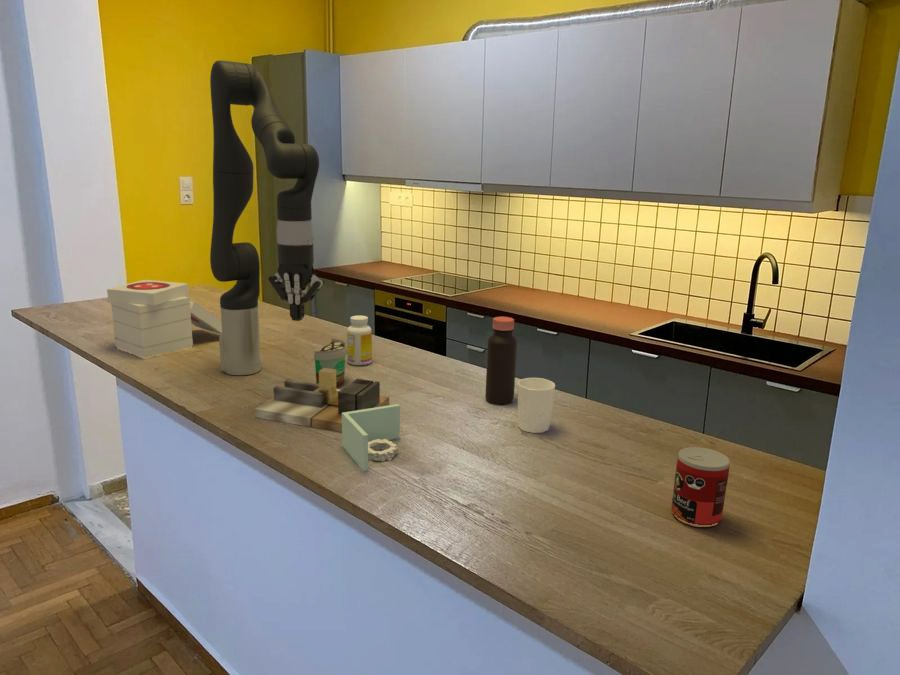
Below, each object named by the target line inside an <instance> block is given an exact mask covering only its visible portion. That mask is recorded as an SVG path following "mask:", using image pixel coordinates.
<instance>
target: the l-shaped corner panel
mask: <svg viewBox="0 0 900 675" xmlns="http://www.w3.org/2000/svg"><path fill="white" fill-rule="evenodd" d="M400 409H401V407H400V404H398V403H396V404H389V405H388V406H382V407H375V408H369V409H363V410H356V411H350V412H344V413H342V432H341V447H344V448H343V449H344V450H345V451H346V452H347V454H348V455H349V456H350V457H351V458H352V459H353V461H354V462H355V463H356V464H357V465H358V466H359V468H360V469H361V470H362V472H366V471H369V461H371V462H372V461H378V462H385V461H386V460H387V461H391V460H392V459H393V458H394V457H395V455H396V454H397V452H398V450H399V447H398V445H397V444H396V443H393V441H391V440H395V439H394V438H396V439H400V436H401V435H400V434H401V433H400V432H401V431H400V430H401V429H400V427H401V423H400V419H401V418H400V416H401V410H400ZM388 439H391V440H388ZM380 449H381V450H380ZM379 450H380V451H379Z"/></svg>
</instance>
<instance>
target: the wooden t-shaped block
mask: <svg viewBox="0 0 900 675" xmlns="http://www.w3.org/2000/svg"><path fill="white" fill-rule="evenodd" d="M336 389H337V388H336V369H329V368H323V369H321V370H319V388H318V389H316V390H315V391H313V392H320V393H324V403H326V404H332V405H338V392H339V391H336Z"/></svg>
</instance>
